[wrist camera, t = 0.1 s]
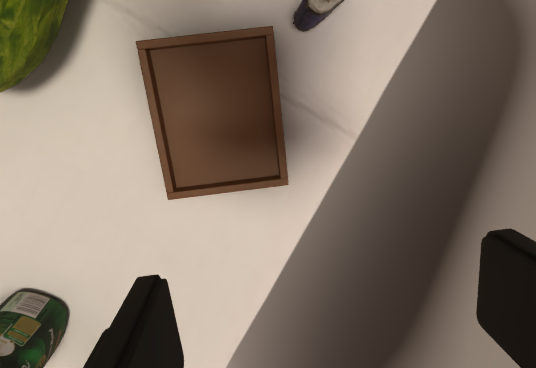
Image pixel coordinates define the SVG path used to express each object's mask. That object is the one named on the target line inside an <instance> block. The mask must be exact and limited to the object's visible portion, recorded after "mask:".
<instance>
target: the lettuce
mask: <svg viewBox="0 0 536 368" xmlns="http://www.w3.org/2000/svg"><path fill="white" fill-rule="evenodd" d="M67 3H68V0H0V92H2V91H4V90H6V89H8V88H10V87H12V86H15V85H17V84H19V83H20V82H21V81H22V80H23V79H24V78H25V77H26V76H27V75H28V74H30V73H31V72H32V71H33V70H34V69H35V68H36V67H37V66H38V65H39V64H40V63H41V62H42V61H43V60H44V58H45V56H46V54H47V53H48V51H49V49H50V48H51V46H52V44H53V42H54V41H55V39H56V37H57V35H58V31H59V28H60V25H61V21H62V18H63V15H64V11H65V8H66V5H67Z"/></svg>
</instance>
